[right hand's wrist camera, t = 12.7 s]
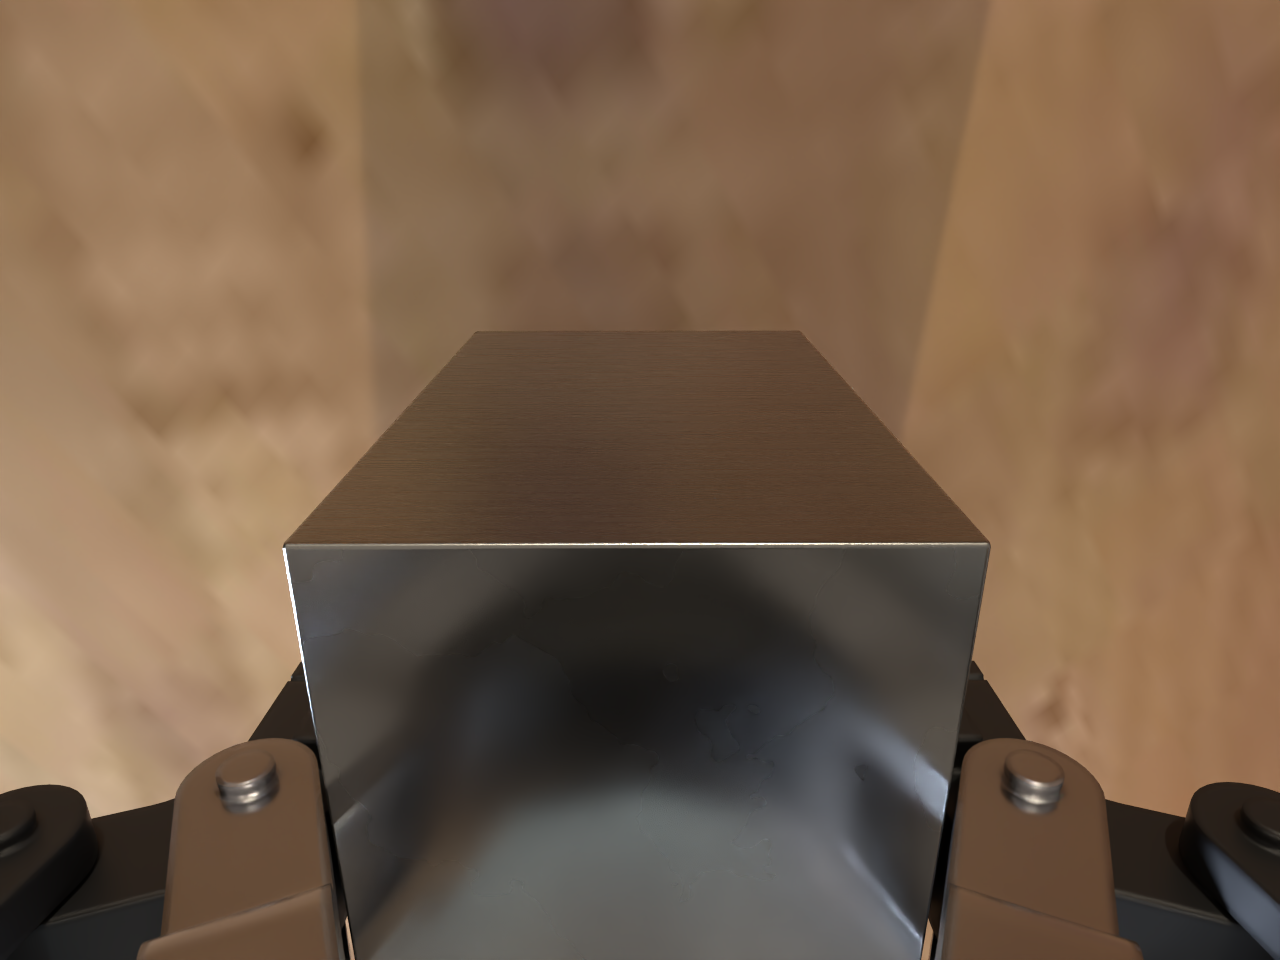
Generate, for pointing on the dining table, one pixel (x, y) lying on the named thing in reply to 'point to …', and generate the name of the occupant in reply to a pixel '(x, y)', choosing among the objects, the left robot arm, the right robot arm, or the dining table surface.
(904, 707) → the bar
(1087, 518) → the dining table surface
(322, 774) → the right robot arm
